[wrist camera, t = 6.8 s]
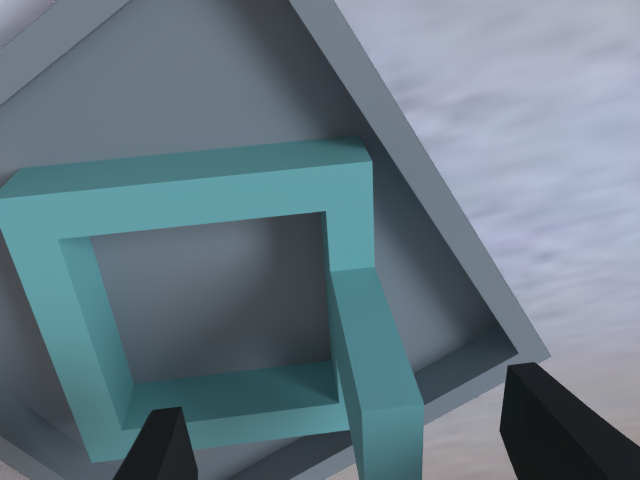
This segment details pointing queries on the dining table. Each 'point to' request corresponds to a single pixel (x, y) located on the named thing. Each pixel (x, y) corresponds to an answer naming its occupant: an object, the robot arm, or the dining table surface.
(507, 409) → the robot arm
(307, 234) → the tray
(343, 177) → the collar
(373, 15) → the dining table surface
